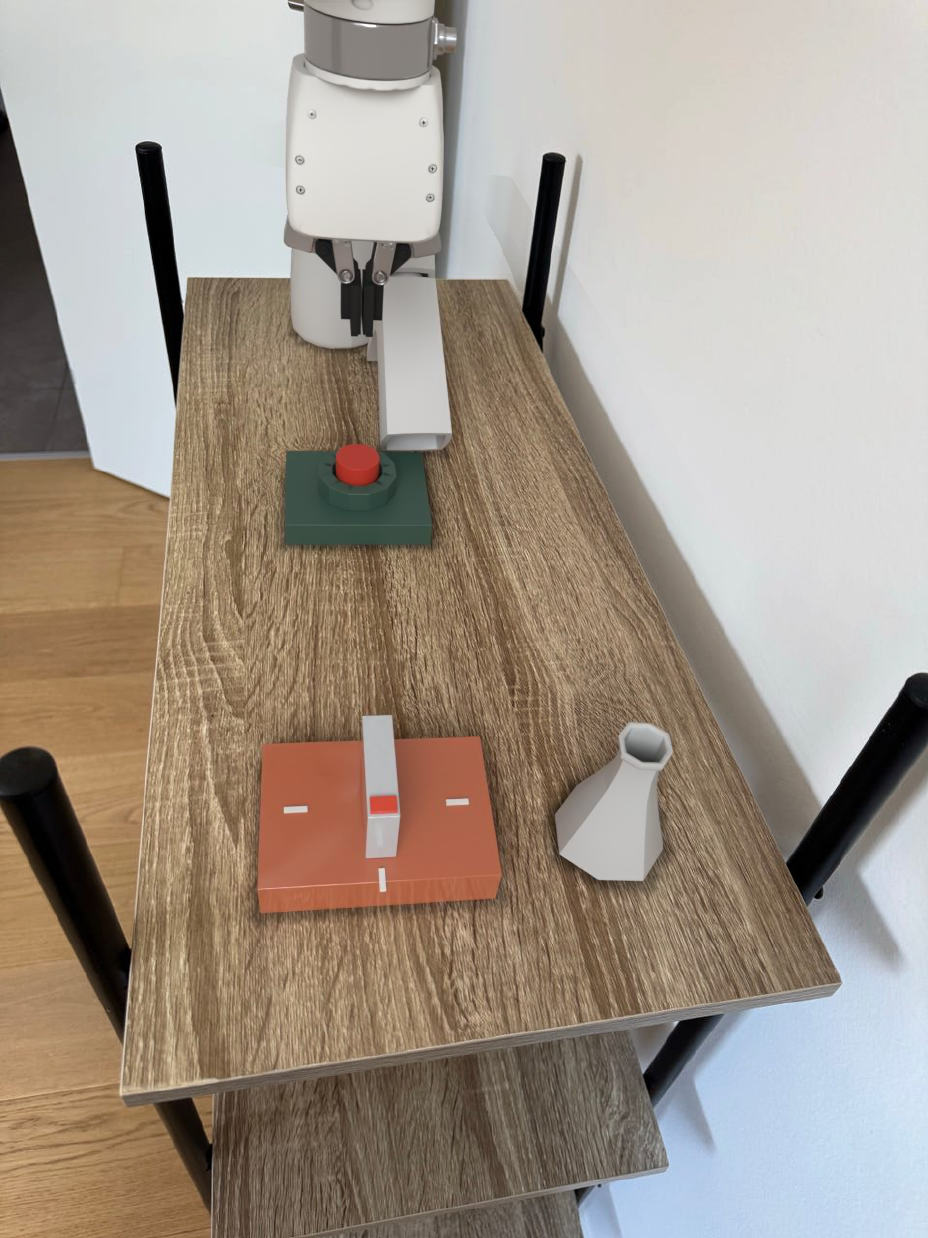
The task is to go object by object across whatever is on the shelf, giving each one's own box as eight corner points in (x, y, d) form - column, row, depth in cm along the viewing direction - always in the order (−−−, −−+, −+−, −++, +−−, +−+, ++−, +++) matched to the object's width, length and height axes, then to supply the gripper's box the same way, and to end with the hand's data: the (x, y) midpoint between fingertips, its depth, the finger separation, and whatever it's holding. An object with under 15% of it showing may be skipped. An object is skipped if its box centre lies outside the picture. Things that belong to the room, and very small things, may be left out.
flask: (669, 805, 61) (714, 714, 54) (654, 900, 56) (701, 814, 49) (565, 773, 62) (596, 680, 55) (541, 864, 57) (571, 774, 50)
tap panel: (259, 923, 53) (256, 898, 50) (265, 762, 60) (262, 734, 58) (497, 908, 55) (504, 883, 53) (473, 754, 62) (479, 726, 60)
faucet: (384, 433, 79) (369, 210, 80) (368, 476, 95) (356, 289, 96) (455, 432, 80) (440, 212, 81) (427, 475, 96) (415, 290, 97)
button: (336, 486, 75) (336, 469, 74) (335, 460, 78) (335, 443, 76) (379, 487, 76) (380, 470, 74) (377, 460, 78) (378, 443, 77)
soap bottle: (331, 363, 95) (332, 126, 78) (272, 324, 99) (260, 91, 82) (400, 334, 100) (413, 108, 84) (341, 298, 104) (343, 76, 88)
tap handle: (360, 758, 58) (362, 713, 54) (388, 757, 58) (392, 712, 54) (365, 859, 53) (367, 815, 49) (396, 857, 53) (400, 814, 50)
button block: (285, 545, 75) (283, 507, 72) (287, 470, 82) (285, 433, 79) (430, 545, 77) (434, 508, 74) (420, 471, 84) (423, 435, 81)
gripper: (484, 35, 58) (455, 306, 71) (241, 13, 55) (258, 298, 68) (501, 73, 52) (467, 357, 66) (235, 51, 50) (255, 351, 63)
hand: (360, 326), depth 67 cm, fingers closed
